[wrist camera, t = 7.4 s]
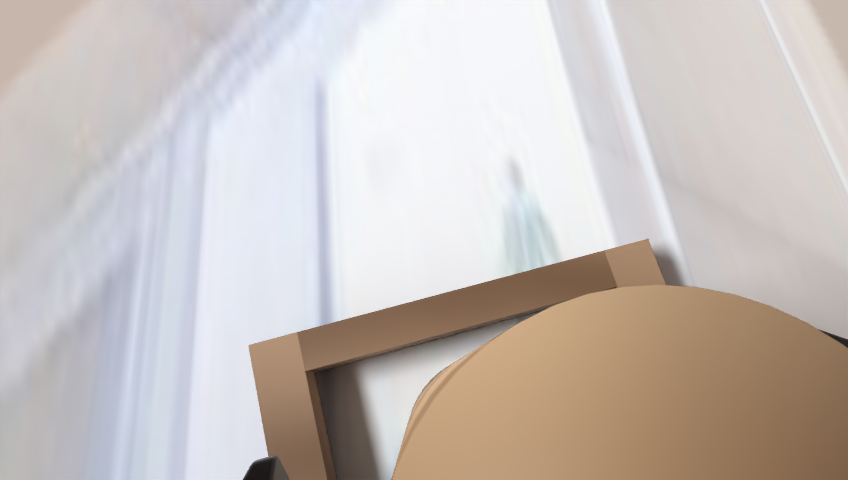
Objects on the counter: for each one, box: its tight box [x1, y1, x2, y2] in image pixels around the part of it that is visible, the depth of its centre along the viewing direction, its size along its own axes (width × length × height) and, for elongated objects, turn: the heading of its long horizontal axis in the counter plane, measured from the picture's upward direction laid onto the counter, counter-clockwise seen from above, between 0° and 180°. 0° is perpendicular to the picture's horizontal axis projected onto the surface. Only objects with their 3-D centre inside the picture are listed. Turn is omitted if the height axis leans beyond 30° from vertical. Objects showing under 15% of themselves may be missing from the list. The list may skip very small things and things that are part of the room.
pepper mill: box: [391, 285, 848, 480], centre depth 11 cm, size 5×5×13 cm
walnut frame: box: [249, 239, 666, 480], centre depth 16 cm, size 9×13×2 cm, turn 105°
